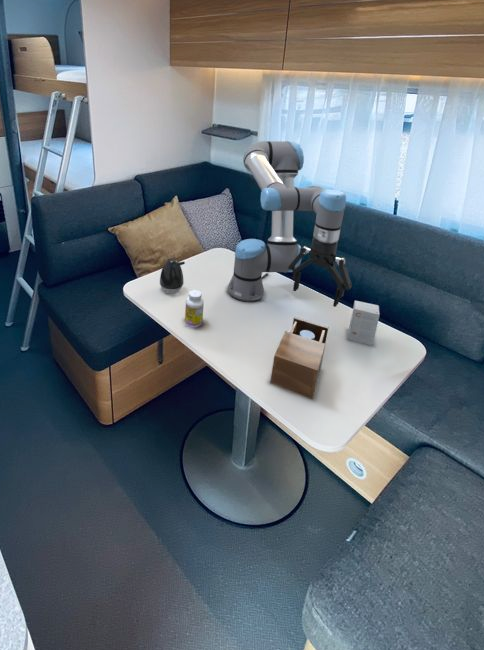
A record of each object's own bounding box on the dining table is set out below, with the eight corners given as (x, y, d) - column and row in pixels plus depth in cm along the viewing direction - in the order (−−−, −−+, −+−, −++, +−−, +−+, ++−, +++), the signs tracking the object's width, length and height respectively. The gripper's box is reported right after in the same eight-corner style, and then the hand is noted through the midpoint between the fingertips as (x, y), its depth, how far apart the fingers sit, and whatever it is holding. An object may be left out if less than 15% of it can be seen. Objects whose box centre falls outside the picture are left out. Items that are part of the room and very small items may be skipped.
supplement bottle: (181, 320, 155) (182, 290, 151) (196, 315, 158) (198, 286, 154) (190, 330, 150) (192, 300, 145) (205, 325, 153) (207, 295, 148)
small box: (372, 335, 149) (379, 305, 145) (372, 346, 144) (380, 314, 139) (348, 329, 152) (354, 299, 148) (347, 339, 147) (354, 308, 142)
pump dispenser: (181, 298, 170) (182, 265, 164) (157, 295, 171) (157, 262, 166) (185, 285, 179) (186, 254, 174) (162, 282, 181) (163, 252, 175)
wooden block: (281, 357, 137) (285, 331, 134) (320, 370, 132) (325, 343, 128) (270, 383, 126) (274, 355, 122) (312, 399, 120) (317, 370, 117)
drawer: (293, 330, 149) (297, 310, 146) (326, 341, 144) (330, 320, 141) (282, 357, 136) (285, 336, 133) (318, 370, 131) (322, 347, 127)
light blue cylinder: (299, 342, 141) (301, 328, 139) (313, 347, 139) (316, 332, 137) (295, 350, 138) (298, 336, 135) (310, 355, 135) (313, 340, 133)
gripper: (283, 231, 133) (275, 287, 141) (363, 255, 118) (349, 317, 126) (293, 225, 139) (285, 279, 146) (370, 247, 124) (357, 306, 131)
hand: (315, 297), depth 136 cm, fingers open, 13 cm apart
